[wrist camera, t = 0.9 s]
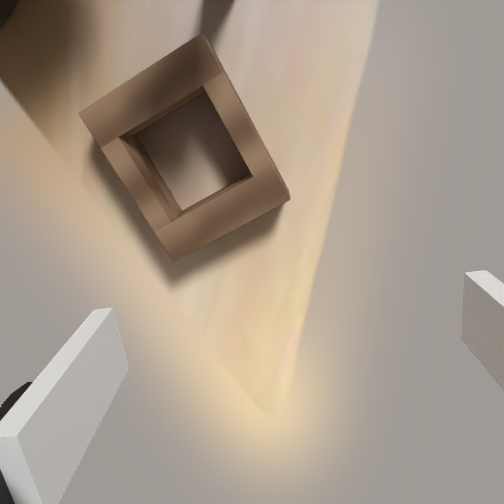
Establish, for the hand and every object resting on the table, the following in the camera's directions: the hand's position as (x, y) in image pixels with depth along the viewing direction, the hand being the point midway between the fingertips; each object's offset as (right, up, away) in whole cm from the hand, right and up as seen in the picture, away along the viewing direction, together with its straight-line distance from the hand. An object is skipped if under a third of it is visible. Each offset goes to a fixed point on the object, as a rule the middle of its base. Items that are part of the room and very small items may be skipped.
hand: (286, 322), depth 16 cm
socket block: (-7, +13, +27) cm, 31 cm away
